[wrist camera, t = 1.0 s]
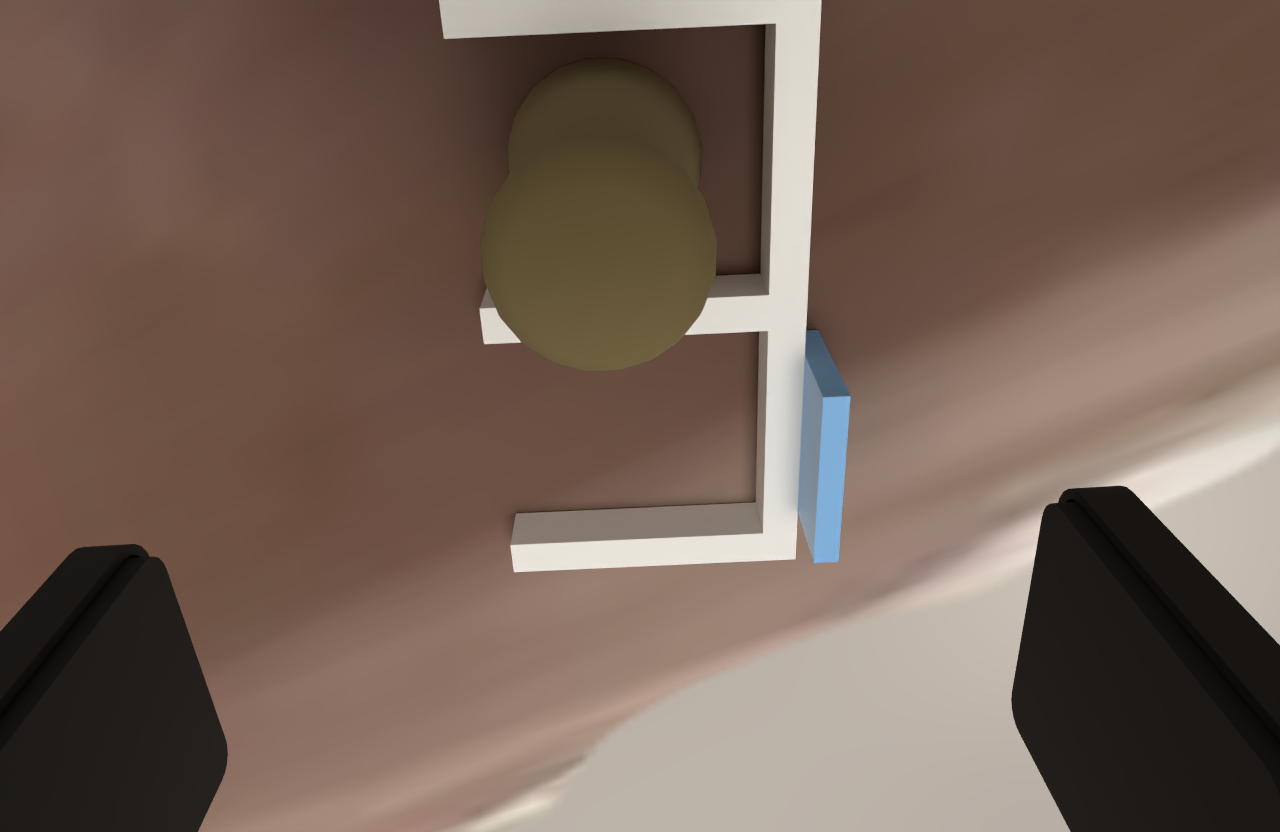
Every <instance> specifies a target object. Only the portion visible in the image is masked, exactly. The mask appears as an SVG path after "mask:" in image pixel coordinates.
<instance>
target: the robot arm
mask: <svg viewBox="0 0 1280 832" xmlns="http://www.w3.org/2000/svg"><path fill="white" fill-rule="evenodd" d="M1011 700H1012V711H1013V716H1014V720H1015V723H1016V726H1017V729H1018V731H1019V733H1020V735H1021V737H1022V739H1023V741H1024V743H1025V745H1026V747H1027V748H1028V750H1029V752H1030V754H1031V756H1032V758H1033V760H1034V762H1035V764H1036V766H1037V768H1038V769H1039V772H1040V774H1041V775H1042V777H1043V779H1044V781H1045V783H1046V785H1047V787H1048V789H1049V791H1050V793H1051V795H1052V797H1053V799H1054V800H1055V802H1056V804H1057V806H1058V808H1059V810H1060V812H1061V814H1062V816H1063V818H1064V820H1065V821H1066V824H1067V825H1068V827H1069V829H1070V831H1071V832H1280V645H1279V644H1278V643H1277V642H1276V641H1275V640H1274V639H1273V638H1272V637H1271V636H1270V635H1269V634H1268V633H1267V631H1265V630H1264V629H1263V627H1262V626H1261V625H1260V624H1259V623H1258V622H1257V621H1256V620H1255V619H1254V618H1253V617H1252V616H1251V615H1250V614H1249V613H1248V612H1247V611H1246V610H1245V609H1244V608H1243V606H1242V605H1241V604H1239V602H1238V601H1237V600H1236V599H1235V598H1234V597H1233V596H1232V595H1231V594H1230V593H1229V592H1228V591H1227V590H1226V589H1225V588H1224V587H1223V586H1222V585H1221V584H1220V582H1219V581H1218V580H1217V579H1216V578H1215V577H1214V576H1213V575H1212V574H1211V573H1210V572H1209V571H1208V570H1207V569H1206V568H1205V567H1204V566H1203V565H1202V564H1201V563H1200V562H1199V561H1198V560H1197V559H1196V558H1195V556H1193V554H1192V553H1191V552H1190V551H1189V550H1188V549H1187V548H1186V547H1185V546H1184V545H1183V544H1182V543H1181V542H1180V541H1179V540H1178V539H1177V538H1176V537H1175V536H1174V535H1173V533H1171V531H1170V530H1169V529H1168V528H1167V527H1166V526H1165V525H1164V524H1163V523H1162V522H1161V521H1160V520H1159V519H1158V518H1157V517H1156V516H1155V515H1154V514H1153V513H1152V512H1151V510H1150V509H1149V508H1148V507H1147V506H1146V505H1145V504H1144V503H1143V502H1142V501H1141V500H1140V499H1139V498H1138V497H1137V496H1136V495H1135V494H1134V493H1133V492H1132V491H1131V490H1129V489H1128V488H1127V487H1124V486H1108V487H1091V488H1074V489H1068V490H1066V491H1064V492H1063V493H1062V495H1061V497H1060V498H1059V502H1058V503H1052V504H1049V505H1047V506H1046V508H1045V510H1044V512H1043V516H1042V521H1041V526H1040V532H1039V538H1038V544H1037V550H1036V556H1035V561H1034V567H1033V573H1032V579H1031V585H1030V591H1029V596H1028V603H1027V608H1026V614H1025V620H1024V626H1023V632H1022V637H1021V643H1020V649H1019V655H1018V661H1017V666H1016V672H1015V678H1014V684H1013V690H1012V699H1011ZM227 756H228V753H227V743H226V739H225V736H224V733H223V730H222V727H221V725H220V722H219V719H218V716H217V713H216V710H215V707H214V704H213V702H212V699H211V696H210V693H209V690H208V687H207V684H206V681H205V679H204V676H203V673H202V670H201V667H200V664H199V661H198V658H197V656H196V653H195V650H194V647H193V644H192V641H191V638H190V635H189V633H188V630H187V627H186V624H185V621H184V618H183V615H182V613H181V610H180V607H179V604H178V601H177V598H176V595H175V592H174V590H173V587H172V584H171V581H170V578H169V575H168V572H167V569H166V567H165V565H164V563H163V562H162V561H161V560H160V559H159V558H157V557H149V555H148V553H147V552H146V551H145V550H144V549H143V548H142V547H141V546H139V545H136V544H127V545H110V546H93V547H82V548H78V549H76V550H74V551H73V552H72V553H71V554H69V555H68V557H67V558H66V559H65V560H64V561H63V562H62V563H61V564H60V566H59V567H58V568H57V569H56V570H55V571H54V572H53V573H52V574H51V576H50V577H49V578H48V579H47V580H46V581H45V582H44V583H43V585H42V586H41V587H40V588H39V589H38V590H37V591H36V592H35V593H34V595H33V596H32V597H31V598H30V599H29V600H28V601H27V602H26V604H25V605H24V606H23V607H22V608H21V609H20V610H19V611H18V612H17V614H16V615H15V616H14V617H13V618H12V619H11V620H10V621H9V623H8V624H7V625H6V626H5V627H4V628H3V629H2V630H1V631H0V832H198V830H199V828H200V826H201V824H202V822H203V819H204V817H205V815H206V813H207V811H208V809H209V807H210V805H211V802H212V800H213V798H214V796H215V794H216V792H217V790H218V787H219V785H220V783H221V781H222V779H223V776H224V773H225V770H226V765H227Z"/></svg>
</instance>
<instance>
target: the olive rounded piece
mask: <svg viewBox="0 0 1280 832" xmlns="http://www.w3.org/2000/svg"><path fill="white" fill-rule="evenodd" d="M507 151H508V166H509V175H508V177H507V178H506V180H505V181H504V183H503V184H502V186H501V187H500V189H499V190H498V192H497V194H496V195H495V197H494V198H493V200H492V202H491V204H490V205H489V209H488V213H487V217H486V221H485V225H484V229H483V233H482V237H481V241H480V245H481V257H482V269H483V278H484V281H485V284H486V287H487V289H488V291H489V294H490V296H491V298H492V301H493V303H494V305H495V308H496V310H497V312H498V315H499V317H500V318H501V319H502V320H503V322H504V323H505V324H506V325H507V326H508V327H509V329H510V330H511V331H512V332H513V333H514V334H515V335H516V337H517V338H518V339H519V340H520V341H521V342H522V343H523V344H524V345H526V346H527V347H529V348H531V349H532V350H534V351H535V352H537V353H539V354H540V355H542V356H543V357H545V358H547V359H548V360H550V361H552V362H555V363H559V364H562V365H566V366H569V367H573V368H576V369H580V370H583V371H605V370H621V369H625V368H628V367H631V366H634V365H638V364H641V363H644V362H647V361H651V360H652V359H654V358H655V357H657V356H658V355H660V354H661V353H663V352H664V351H666V350H667V349H669V348H670V347H672V346H673V345H675V344H676V343H678V342H679V341H680V340H681V339H682V337H683V336H684V335H685V334H686V332H687V331H688V330H689V329H690V327H691V326H692V325H693V324H694V322H695V321H696V320H697V319H698V317H699V316H700V315H701V313H702V311H703V308H704V306H705V303H706V300H707V298H708V295H709V293H710V290H711V287H712V285H713V282H714V279H715V277H716V260H717V237H716V234H715V231H714V227H713V224H712V220H711V217H710V214H709V210H708V207H707V204H706V201H705V199H704V197H703V195H702V194H701V193H700V191H699V190H698V185H699V180H700V176H701V141H700V138H699V134H698V131H697V127H696V124H695V120H694V117H693V114H692V113H691V111H690V110H689V108H688V107H687V105H686V104H685V102H684V101H683V99H682V98H681V96H680V95H679V93H678V92H677V90H676V89H675V88H674V87H673V86H672V85H670V84H669V83H668V82H666V81H665V80H664V79H663V78H661V77H660V76H659V75H657V74H656V73H655V72H653V71H652V70H651V69H650V68H647V67H644V66H641V65H638V64H635V63H632V62H629V61H626V60H623V59H620V58H586V59H583V60H580V61H577V62H574V63H572V64H569V65H566V66H563V67H560V68H557V69H556V70H554V71H553V72H552V73H551V74H549V75H548V76H547V77H546V78H544V79H543V80H542V81H541V82H539V83H538V84H537V85H536V86H534V87H533V88H532V89H531V91H530V92H529V94H528V95H527V97H526V98H525V100H524V102H523V103H522V105H521V106H520V108H519V109H518V111H517V113H516V114H515V116H514V120H513V124H512V128H511V132H510V136H509V140H508V144H507Z"/></svg>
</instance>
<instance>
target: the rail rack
mask: <svg viewBox="0 0 1280 832" xmlns="http://www.w3.org/2000/svg"><path fill="white" fill-rule="evenodd" d="M439 5H440V13H441V20H442V28H443V35H444V39H454V38H475V37H496V36H518V35H539V34H560V33H582V32H603V31H624V30H646V29H667V28H689V27H710V26H731V25H753V24H766V29H765V77H764V125H763V173H762V220H761V268H760V274H741V275H720V276H716V277H715V279H714V282H713V285H712V287H711V290H710V293H709V295H708V298H707V300H706V303H705V306H704V308H703V311H702V313H701V315H700V316H699V317H698V319H697V320H696V321H695V322H694V324H693V325H692V326H691V327H690V329H689V330H688V331H687V332H686V334H685V335H691V334H713V333H734V332H756V331H759V364H758V412H757V459H756V502H753V503H732V504H710V505H688V506H667V507H645V508H623V509H602V510H580V511H559V512H537V513H516V516H515V522H514V528H513V534H512V540H511V552H512V560H513V568H514V572H527V571H549V570H571V569H592V568H614V567H635V566H657V565H679V564H700V563H722V562H744V561H765V560H787V559H795V556H796V535H797V513H798V514H799V517H800V520H801V524H802V527H803V530H804V533H805V537H806V540H807V543H808V546H809V550H810V553H811V556H812V560H813V563H823V562H838V559H839V545H840V532H841V518H842V505H843V491H844V478H845V464H846V450H847V437H848V423H849V410H850V394H849V392H848V390H847V388H846V386H845V384H844V382H843V380H842V378H841V376H840V374H839V372H838V370H837V368H836V366H835V364H834V362H833V359H832V357H831V355H830V353H829V351H828V349H827V347H826V345H825V343H824V341H823V339H822V337H821V335H820V333H819V331H818V330H806V321H807V299H808V278H809V256H810V235H811V214H812V192H813V171H814V149H815V128H816V106H817V85H818V64H819V42H820V21H821V0H439ZM480 317H481V324H482V332H483V339H484V344H498V343H519V342H521V341H520V340H519V339H518V338H517V337H516V335H515V334H514V333H513V332H512V331H511V330H510V329H509V327H508V326H507V325H506V324H505V323H504V322H503V320H502V319H501V318H500V317H499V315H498V312H497V310H496V308H495V305H494V303H493V301H492V298H491V296H490V294H489V291H488V289H486V292H485V295H484V297H483V300H482V303H481V306H480Z"/></svg>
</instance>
